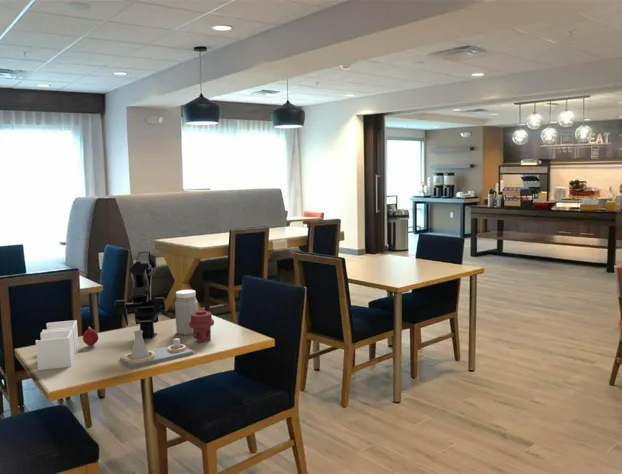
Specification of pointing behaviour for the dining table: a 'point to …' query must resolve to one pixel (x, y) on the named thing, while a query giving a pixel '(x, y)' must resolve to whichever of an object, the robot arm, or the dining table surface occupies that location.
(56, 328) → the storage container
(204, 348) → the dining table surface
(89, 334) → the onion
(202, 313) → the mechanical component
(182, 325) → the jar
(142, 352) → the flask
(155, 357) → the board
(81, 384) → the dining table surface
